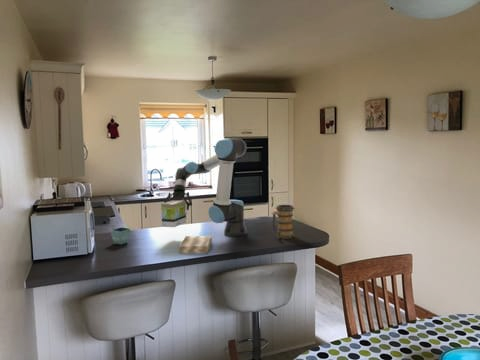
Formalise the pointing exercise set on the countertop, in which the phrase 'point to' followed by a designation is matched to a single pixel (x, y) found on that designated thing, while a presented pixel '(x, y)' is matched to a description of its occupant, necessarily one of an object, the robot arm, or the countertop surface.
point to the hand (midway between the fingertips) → (176, 214)
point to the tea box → (173, 213)
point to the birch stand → (195, 244)
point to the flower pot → (120, 235)
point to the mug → (283, 221)
